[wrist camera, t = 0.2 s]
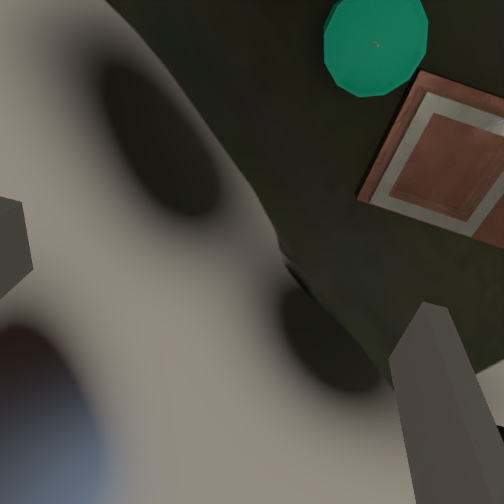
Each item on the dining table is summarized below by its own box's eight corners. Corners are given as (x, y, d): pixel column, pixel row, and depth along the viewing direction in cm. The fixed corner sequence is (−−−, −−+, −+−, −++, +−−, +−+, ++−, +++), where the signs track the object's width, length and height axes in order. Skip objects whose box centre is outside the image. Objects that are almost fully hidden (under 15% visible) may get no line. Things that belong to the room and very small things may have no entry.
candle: (383, 79, 32) (411, 111, 22) (314, 65, 32) (311, 92, 23) (410, -5, 29) (457, -11, 19) (333, -19, 29) (339, -32, 19)
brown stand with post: (416, 67, 31) (469, 102, 20) (594, 129, 32) (741, 196, 21) (355, 193, 38) (369, 270, 27) (502, 242, 39) (576, 339, 27)
